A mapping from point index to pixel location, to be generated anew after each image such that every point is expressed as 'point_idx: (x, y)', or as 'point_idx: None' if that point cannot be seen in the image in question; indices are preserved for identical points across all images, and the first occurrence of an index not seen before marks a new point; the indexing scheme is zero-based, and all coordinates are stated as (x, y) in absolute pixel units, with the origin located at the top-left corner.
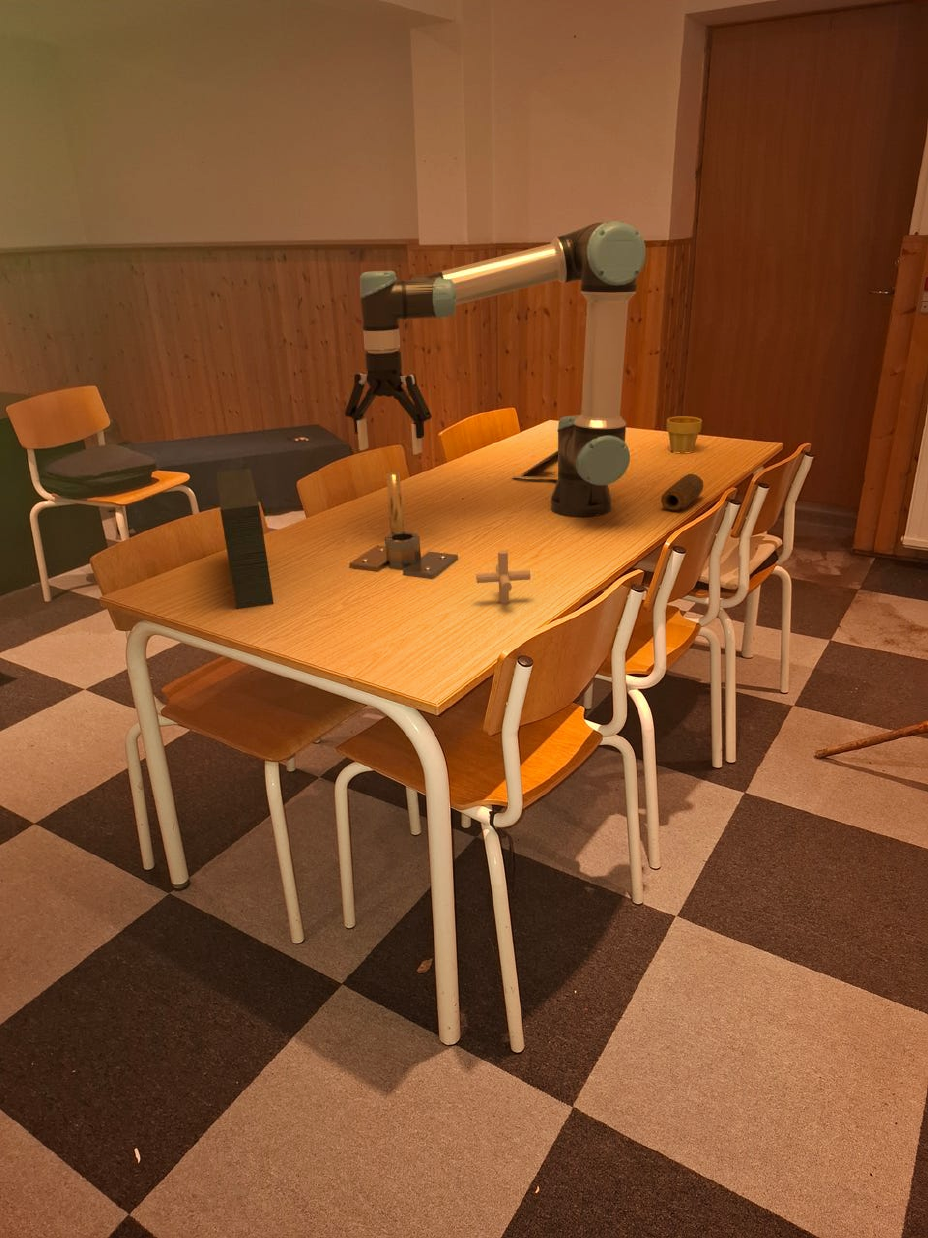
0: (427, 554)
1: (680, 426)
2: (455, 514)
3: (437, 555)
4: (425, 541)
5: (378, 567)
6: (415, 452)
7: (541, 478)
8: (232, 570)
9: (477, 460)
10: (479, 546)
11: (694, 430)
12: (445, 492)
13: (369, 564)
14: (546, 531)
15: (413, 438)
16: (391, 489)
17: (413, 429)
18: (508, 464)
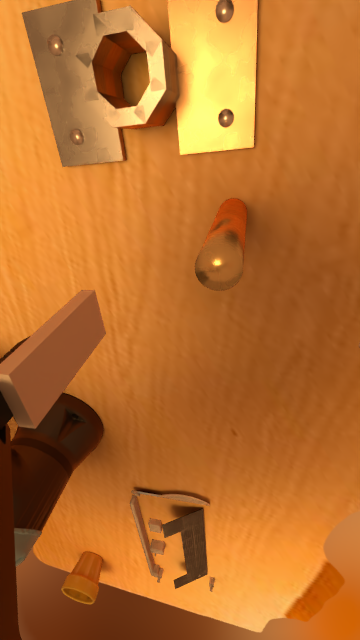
0: (114, 140)
1: (74, 584)
2: (207, 373)
3: (93, 144)
4: (181, 236)
5: None
6: (79, 292)
7: (165, 495)
8: None
9: (292, 553)
10: (80, 246)
11: (66, 578)
12: (276, 453)
13: None
14: None
15: (51, 324)
16: (219, 231)
17: (19, 353)
18: (242, 539)
